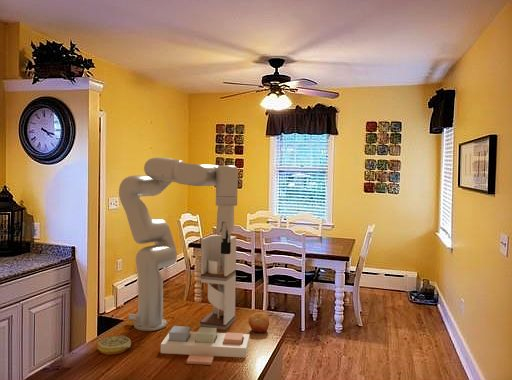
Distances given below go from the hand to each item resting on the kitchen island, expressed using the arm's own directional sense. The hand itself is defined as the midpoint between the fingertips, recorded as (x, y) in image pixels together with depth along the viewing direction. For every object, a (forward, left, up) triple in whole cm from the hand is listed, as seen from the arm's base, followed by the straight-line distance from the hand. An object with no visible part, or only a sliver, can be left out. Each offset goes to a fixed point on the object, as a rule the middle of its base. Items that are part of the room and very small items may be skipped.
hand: (225, 253), depth 149 cm
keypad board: (-6, -2, -33) cm, 34 cm away
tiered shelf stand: (-6, +22, -33) cm, 40 cm away
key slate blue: (-15, -2, -30) cm, 34 cm away
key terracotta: (+4, -2, -32) cm, 32 cm away
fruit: (+11, +16, -33) cm, 39 cm away
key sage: (-6, -2, -30) cm, 31 cm away
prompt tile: (-6, -12, -33) cm, 36 cm away
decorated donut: (-37, -7, -34) cm, 50 cm away
